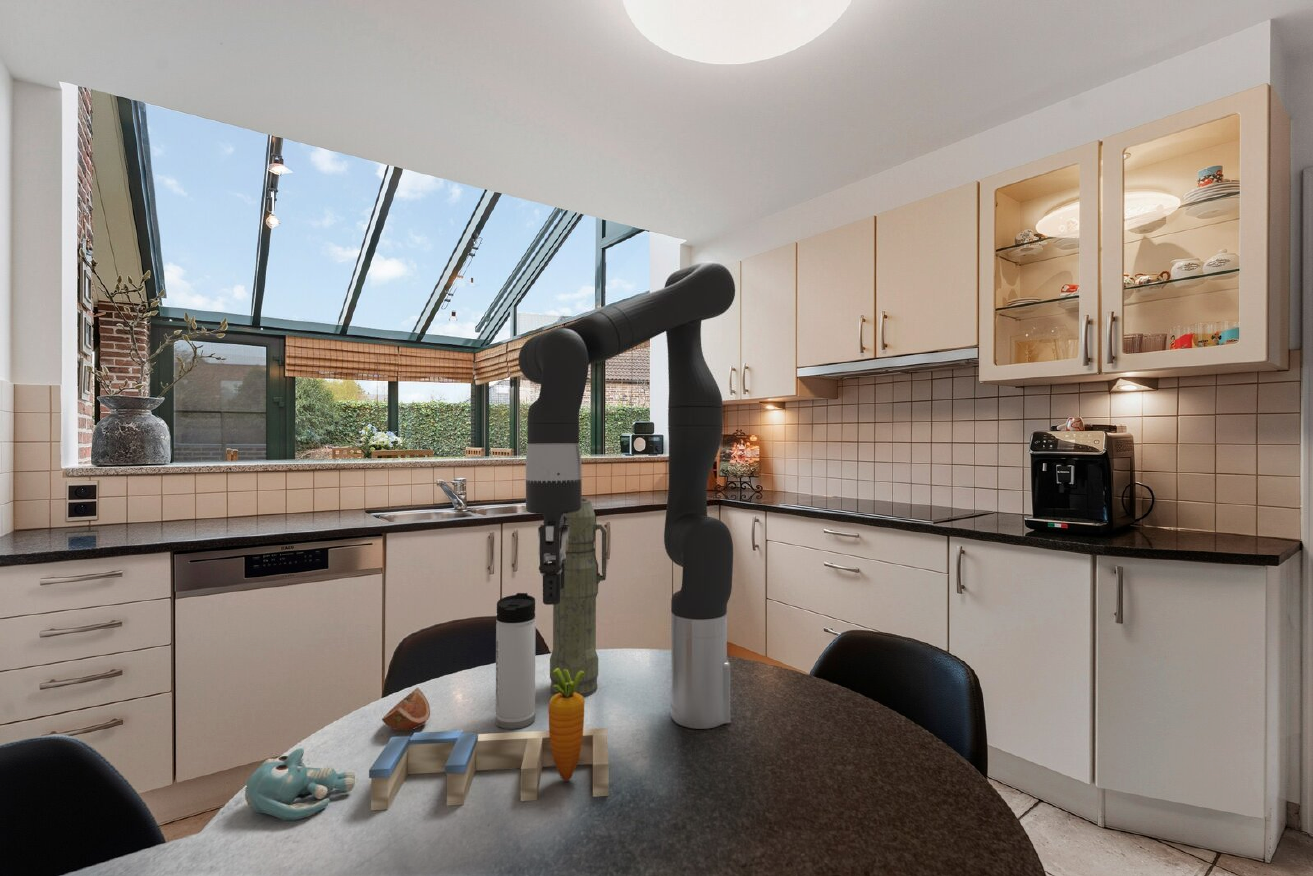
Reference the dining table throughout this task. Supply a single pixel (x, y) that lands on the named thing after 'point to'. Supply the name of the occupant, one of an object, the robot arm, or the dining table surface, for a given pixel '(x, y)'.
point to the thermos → (578, 603)
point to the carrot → (566, 723)
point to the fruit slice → (409, 712)
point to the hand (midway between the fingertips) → (554, 596)
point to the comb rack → (478, 761)
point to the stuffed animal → (292, 786)
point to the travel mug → (515, 661)
